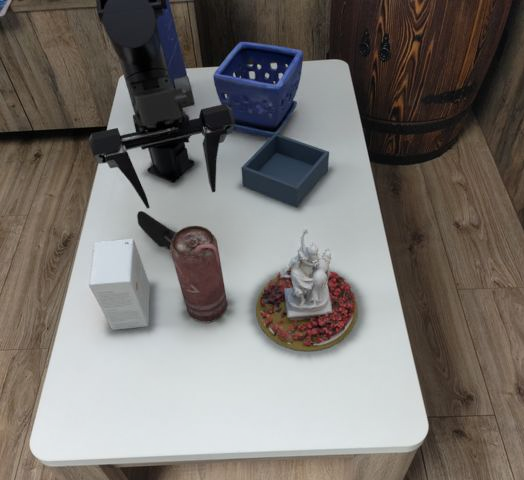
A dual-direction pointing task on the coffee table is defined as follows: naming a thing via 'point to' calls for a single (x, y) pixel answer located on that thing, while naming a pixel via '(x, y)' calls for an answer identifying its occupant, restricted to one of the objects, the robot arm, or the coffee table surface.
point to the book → (171, 44)
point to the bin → (285, 169)
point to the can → (199, 272)
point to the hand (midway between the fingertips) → (181, 199)
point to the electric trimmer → (155, 230)
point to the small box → (120, 283)
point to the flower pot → (259, 87)
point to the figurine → (307, 303)
